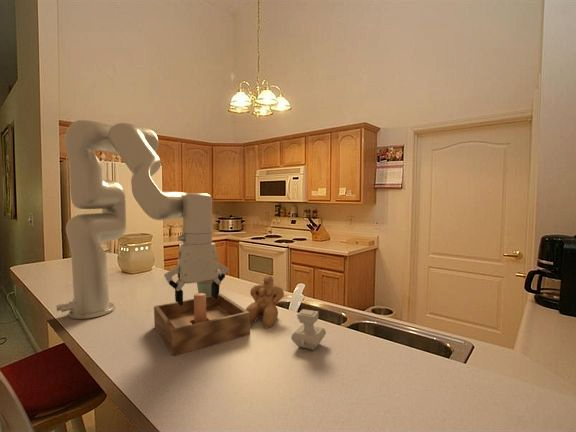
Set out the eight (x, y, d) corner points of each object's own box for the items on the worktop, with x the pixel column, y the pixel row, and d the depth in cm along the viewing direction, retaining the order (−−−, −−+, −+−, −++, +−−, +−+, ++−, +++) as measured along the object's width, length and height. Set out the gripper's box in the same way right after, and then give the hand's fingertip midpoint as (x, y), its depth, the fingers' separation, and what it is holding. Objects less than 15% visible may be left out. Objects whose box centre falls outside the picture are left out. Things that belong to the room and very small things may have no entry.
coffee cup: (215, 310, 103) (214, 274, 102) (191, 309, 105) (190, 273, 104) (226, 302, 111) (225, 268, 111) (203, 300, 113) (202, 267, 112)
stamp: (315, 357, 73) (314, 321, 73) (289, 351, 76) (288, 316, 76) (327, 340, 81) (327, 308, 81) (303, 335, 84) (303, 304, 84)
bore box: (173, 355, 74) (172, 330, 74) (154, 326, 91) (153, 306, 90) (250, 334, 85) (249, 312, 85) (221, 312, 102) (220, 293, 102)
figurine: (239, 325, 92) (243, 272, 95) (253, 323, 100) (257, 275, 104) (273, 328, 88) (276, 273, 92) (285, 326, 96) (288, 276, 100)
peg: (197, 334, 86) (195, 297, 85) (193, 330, 89) (192, 294, 88) (208, 331, 88) (207, 295, 87) (204, 327, 90) (203, 292, 90)
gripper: (168, 243, 79) (168, 311, 80) (233, 238, 88) (232, 299, 90) (160, 239, 85) (161, 302, 86) (222, 235, 94) (222, 291, 96)
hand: (197, 300), depth 88 cm, fingers open, 9 cm apart
